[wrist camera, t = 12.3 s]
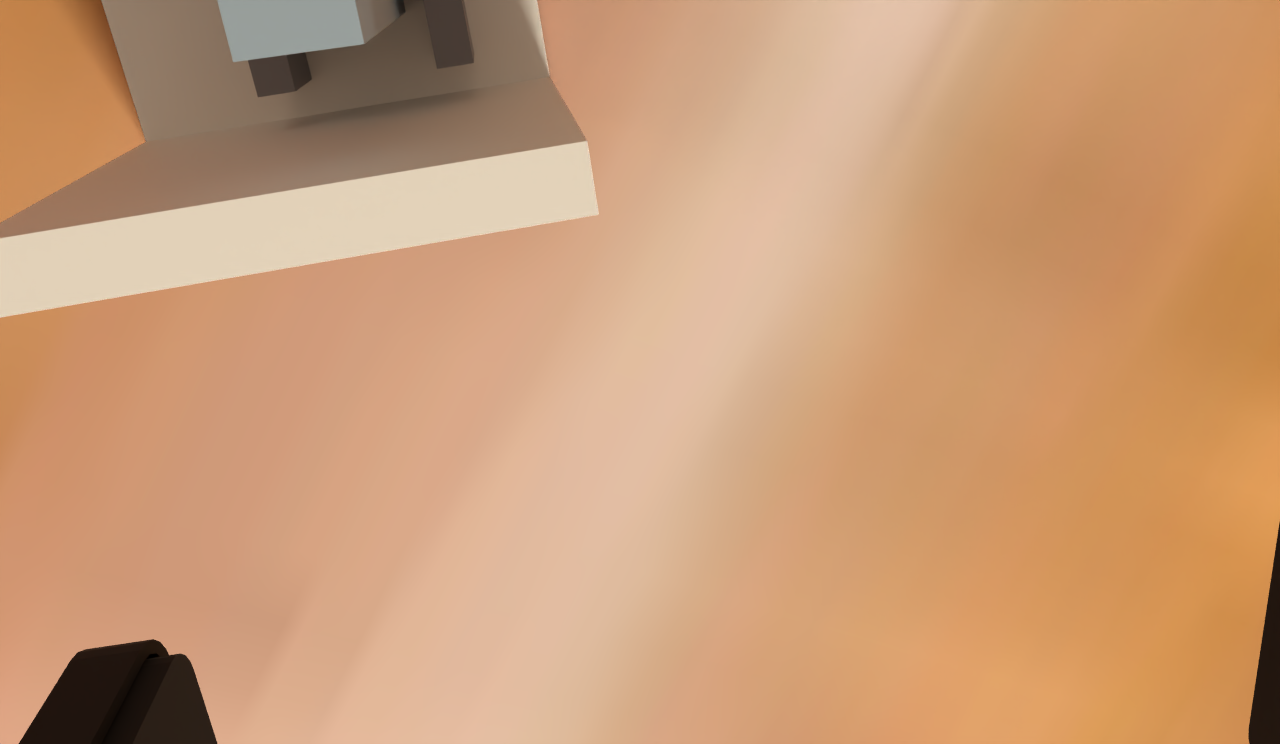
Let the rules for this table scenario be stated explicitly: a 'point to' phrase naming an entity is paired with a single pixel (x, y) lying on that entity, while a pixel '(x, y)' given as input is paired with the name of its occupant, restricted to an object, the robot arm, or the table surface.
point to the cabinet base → (305, 153)
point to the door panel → (302, 24)
